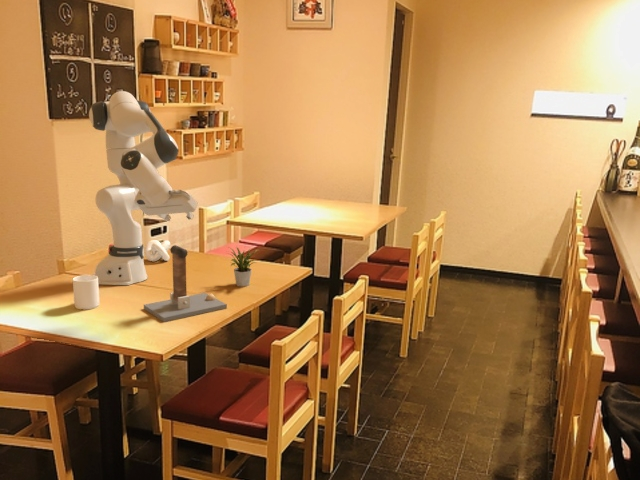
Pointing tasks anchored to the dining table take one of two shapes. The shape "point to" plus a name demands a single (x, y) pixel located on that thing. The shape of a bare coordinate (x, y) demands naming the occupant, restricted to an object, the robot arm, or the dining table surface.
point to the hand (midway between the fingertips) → (179, 218)
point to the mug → (86, 292)
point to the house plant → (242, 268)
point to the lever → (179, 271)
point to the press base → (184, 306)
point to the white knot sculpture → (157, 250)
